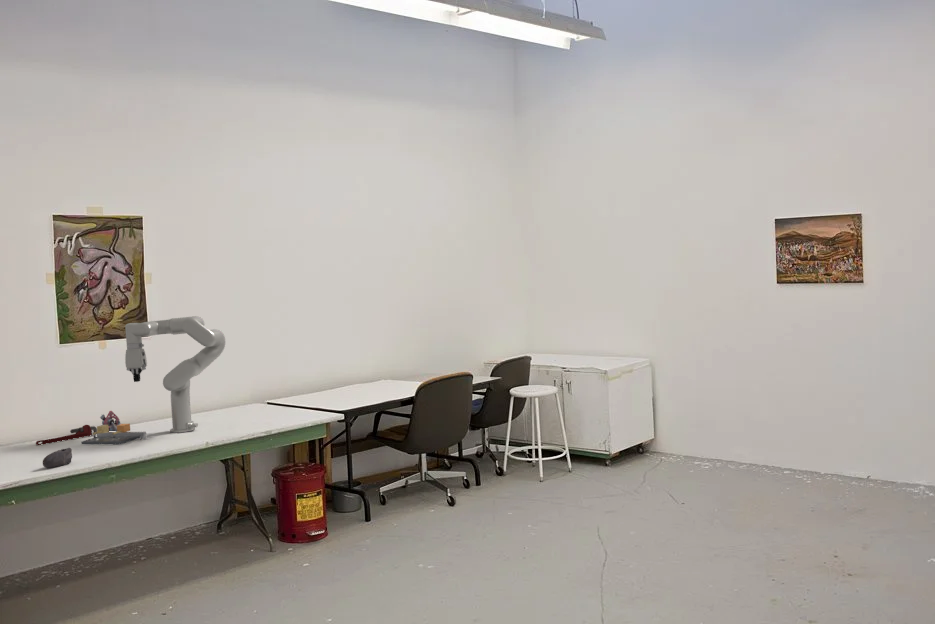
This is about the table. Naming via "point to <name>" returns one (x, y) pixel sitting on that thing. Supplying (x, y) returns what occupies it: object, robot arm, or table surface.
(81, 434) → the pipe wrench
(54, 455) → the perforated stone tool
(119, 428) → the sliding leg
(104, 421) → the red grey carburetor
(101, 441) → the bolt plate
